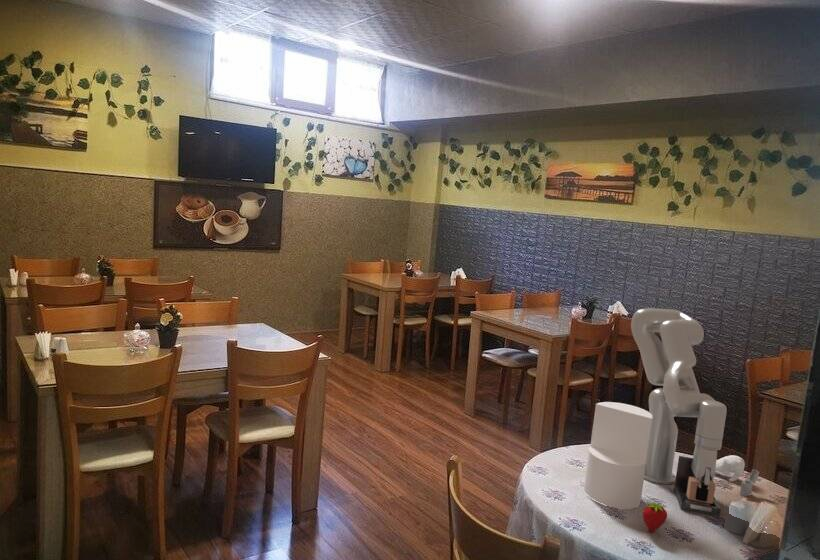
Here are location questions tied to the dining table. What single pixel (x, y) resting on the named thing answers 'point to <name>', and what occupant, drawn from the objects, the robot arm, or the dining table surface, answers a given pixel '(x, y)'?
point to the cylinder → (618, 454)
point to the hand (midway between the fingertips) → (699, 496)
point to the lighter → (749, 483)
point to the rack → (681, 490)
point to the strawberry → (654, 516)
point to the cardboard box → (692, 489)
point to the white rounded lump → (731, 466)
